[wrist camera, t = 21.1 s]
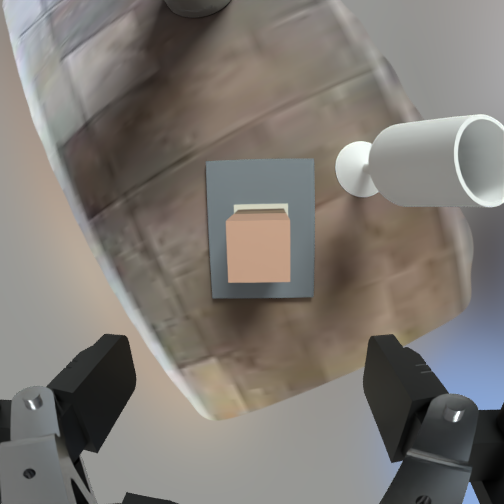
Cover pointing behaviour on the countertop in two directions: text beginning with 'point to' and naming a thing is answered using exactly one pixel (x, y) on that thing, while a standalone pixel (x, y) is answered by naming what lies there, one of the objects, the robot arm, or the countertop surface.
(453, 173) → the champagne flute
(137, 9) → the countertop surface
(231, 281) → the terracotta block
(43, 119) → the countertop surface
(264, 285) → the slate board
